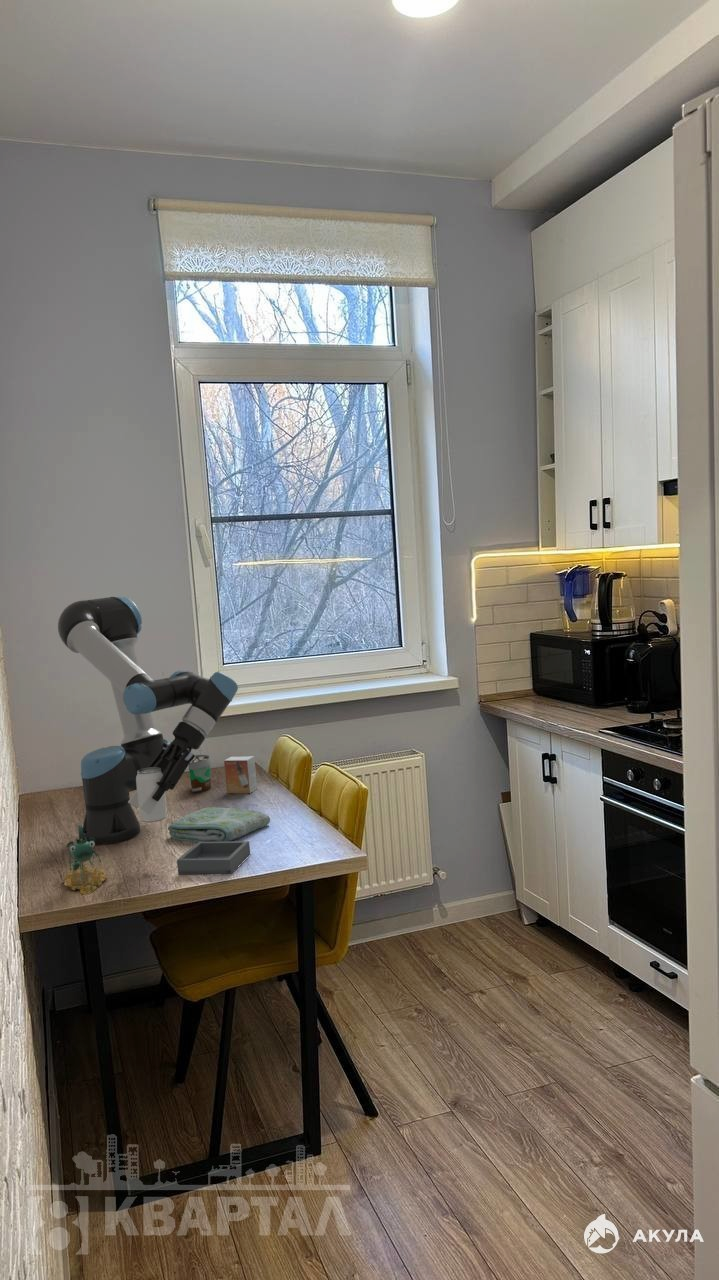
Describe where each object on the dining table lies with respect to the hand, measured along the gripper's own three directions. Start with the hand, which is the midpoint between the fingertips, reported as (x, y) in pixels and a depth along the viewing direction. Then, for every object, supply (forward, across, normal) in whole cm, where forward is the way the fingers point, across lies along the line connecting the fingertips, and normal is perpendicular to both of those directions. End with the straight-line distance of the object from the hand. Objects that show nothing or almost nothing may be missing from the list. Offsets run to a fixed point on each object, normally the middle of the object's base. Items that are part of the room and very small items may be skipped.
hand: (138, 808), depth 222 cm
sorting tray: (+2, -14, -18) cm, 23 cm away
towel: (-7, +9, -28) cm, 30 cm away
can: (0, 0, -5) cm, 5 cm away
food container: (-21, +54, -42) cm, 71 cm away
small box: (-25, +40, -46) cm, 66 cm away
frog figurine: (+20, 0, 0) cm, 20 cm away
